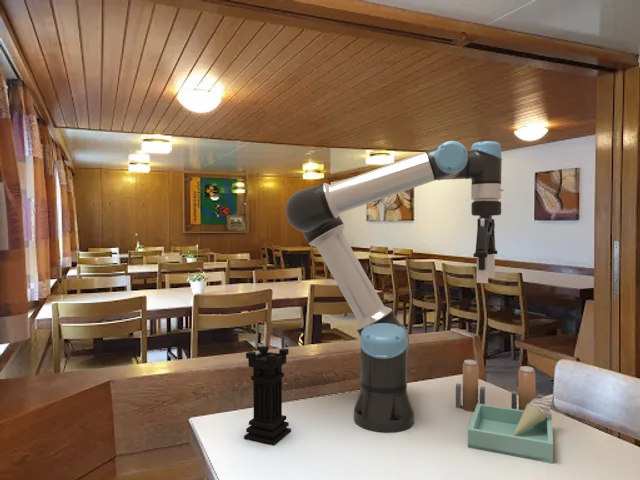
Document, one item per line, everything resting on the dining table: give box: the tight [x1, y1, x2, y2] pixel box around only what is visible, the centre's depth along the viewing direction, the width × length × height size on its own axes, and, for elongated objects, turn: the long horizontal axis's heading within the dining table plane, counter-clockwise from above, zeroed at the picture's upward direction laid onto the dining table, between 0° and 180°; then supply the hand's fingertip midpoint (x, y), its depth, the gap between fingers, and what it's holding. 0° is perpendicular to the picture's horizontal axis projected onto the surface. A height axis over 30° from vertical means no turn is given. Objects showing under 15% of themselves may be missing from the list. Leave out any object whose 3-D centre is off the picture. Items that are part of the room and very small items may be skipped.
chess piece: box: [243, 345, 292, 447], centre depth 111 cm, size 8×8×20 cm
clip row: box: [455, 382, 544, 409], centre depth 124 cm, size 21×2×6 cm, turn 65°
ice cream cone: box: [513, 393, 555, 436], centre depth 111 cm, size 5×5×15 cm
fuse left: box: [462, 359, 479, 412], centre depth 127 cm, size 4×4×13 cm
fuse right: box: [517, 365, 536, 410], centre depth 121 cm, size 4×4×13 cm
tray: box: [467, 402, 554, 464], centre depth 109 cm, size 17×17×4 cm
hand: (485, 280), depth 126 cm, fingers open, 13 cm apart
